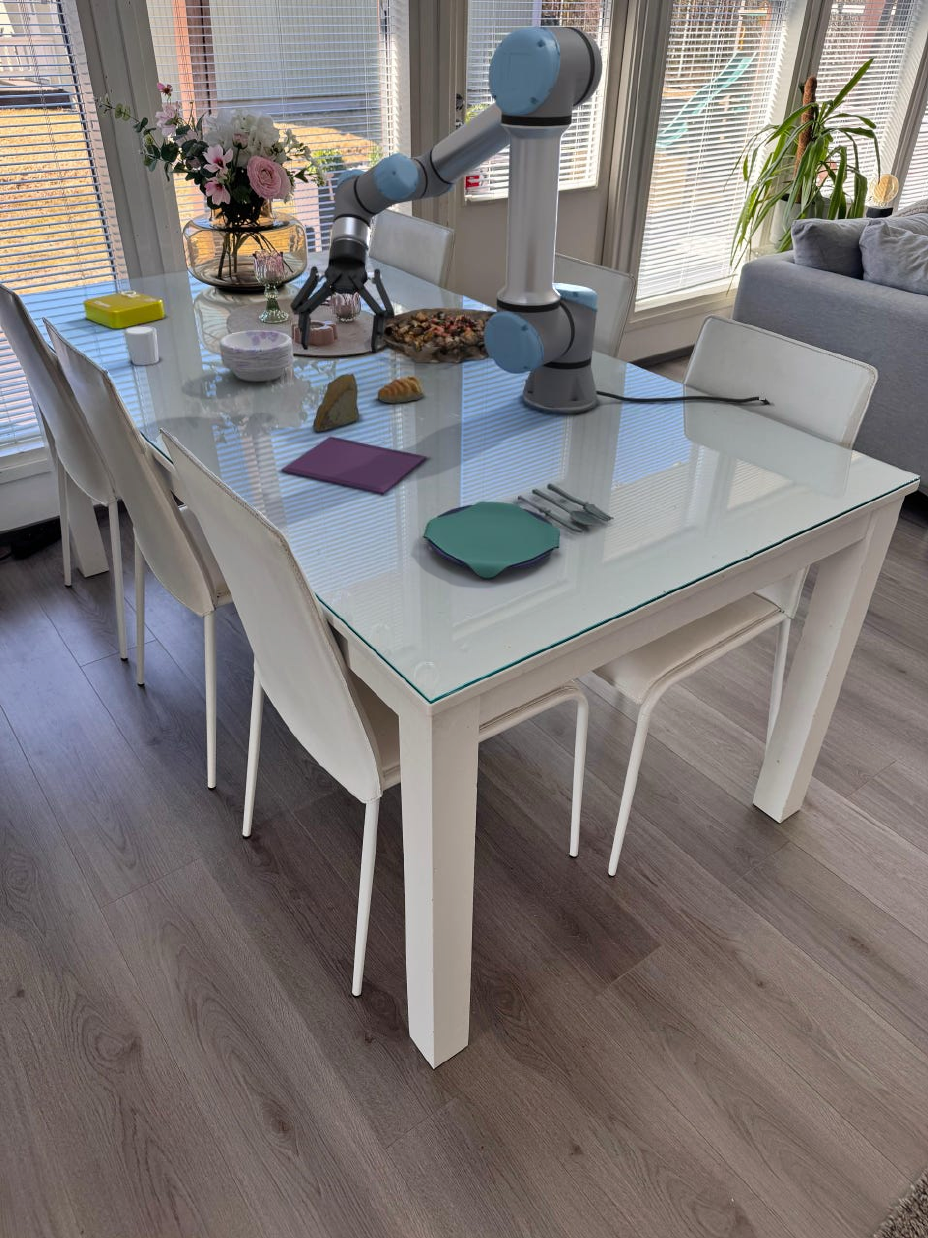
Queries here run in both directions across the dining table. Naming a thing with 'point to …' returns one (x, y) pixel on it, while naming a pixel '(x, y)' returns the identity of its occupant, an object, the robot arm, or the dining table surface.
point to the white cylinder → (142, 344)
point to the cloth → (355, 465)
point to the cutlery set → (503, 533)
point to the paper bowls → (257, 354)
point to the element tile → (124, 309)
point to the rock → (338, 404)
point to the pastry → (401, 390)
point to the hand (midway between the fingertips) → (338, 348)
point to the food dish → (439, 334)
